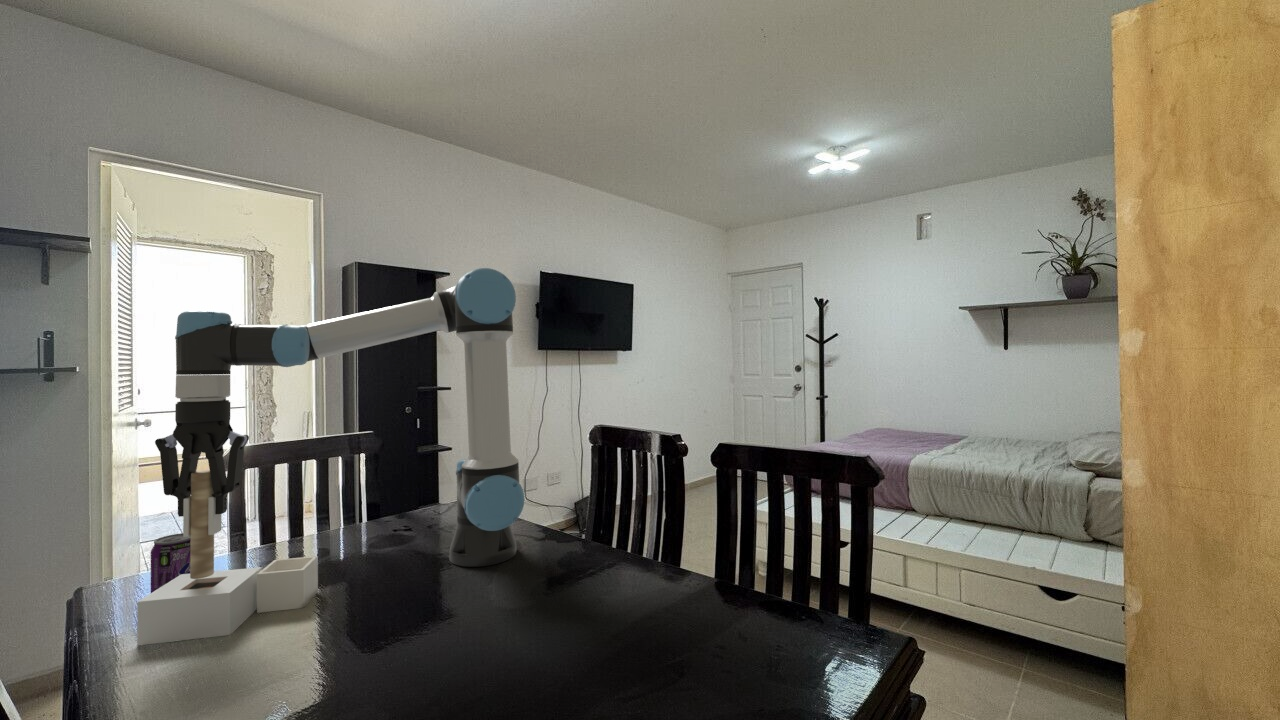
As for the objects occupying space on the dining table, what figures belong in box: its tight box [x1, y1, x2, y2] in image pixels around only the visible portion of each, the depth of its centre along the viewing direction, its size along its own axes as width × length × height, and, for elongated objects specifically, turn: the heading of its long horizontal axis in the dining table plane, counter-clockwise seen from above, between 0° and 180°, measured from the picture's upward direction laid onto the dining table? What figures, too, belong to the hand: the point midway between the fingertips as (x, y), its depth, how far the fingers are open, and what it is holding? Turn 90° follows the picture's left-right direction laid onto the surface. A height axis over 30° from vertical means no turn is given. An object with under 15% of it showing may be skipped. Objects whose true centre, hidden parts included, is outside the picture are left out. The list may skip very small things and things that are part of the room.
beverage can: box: [150, 532, 191, 594], centre depth 104 cm, size 7×7×12 cm
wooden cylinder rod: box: [190, 469, 215, 579], centre depth 94 cm, size 3×3×18 cm
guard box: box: [136, 566, 263, 646], centre depth 94 cm, size 13×12×7 cm
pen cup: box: [256, 555, 319, 614], centre depth 103 cm, size 8×8×7 cm
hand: (202, 533), depth 94 cm, fingers closed on wooden cylinder rod, 3 cm apart
